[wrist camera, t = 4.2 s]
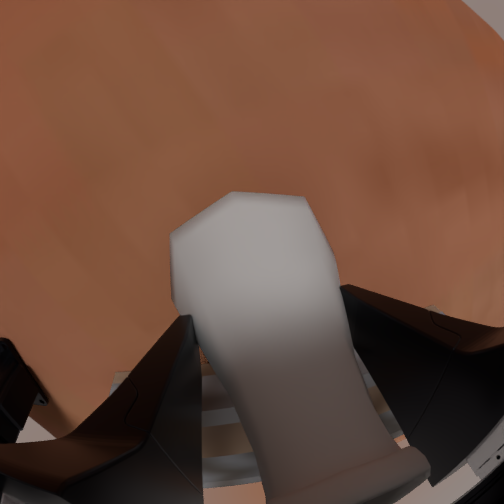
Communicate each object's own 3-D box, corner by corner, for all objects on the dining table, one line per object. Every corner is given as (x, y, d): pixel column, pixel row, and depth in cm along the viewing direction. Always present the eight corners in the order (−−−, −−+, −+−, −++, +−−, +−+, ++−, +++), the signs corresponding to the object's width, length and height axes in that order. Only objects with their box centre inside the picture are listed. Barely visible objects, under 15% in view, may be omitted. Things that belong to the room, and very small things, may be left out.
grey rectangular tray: (172, 457, 19) (173, 489, 16) (115, 372, 14) (104, 415, 11) (399, 403, 21) (416, 427, 18) (433, 304, 17) (463, 329, 14)
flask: (336, 313, 14) (450, 475, 4) (198, 354, 13) (217, 556, 4) (318, 169, 11) (576, 269, 2) (142, 216, 10) (-4, 467, 1)
